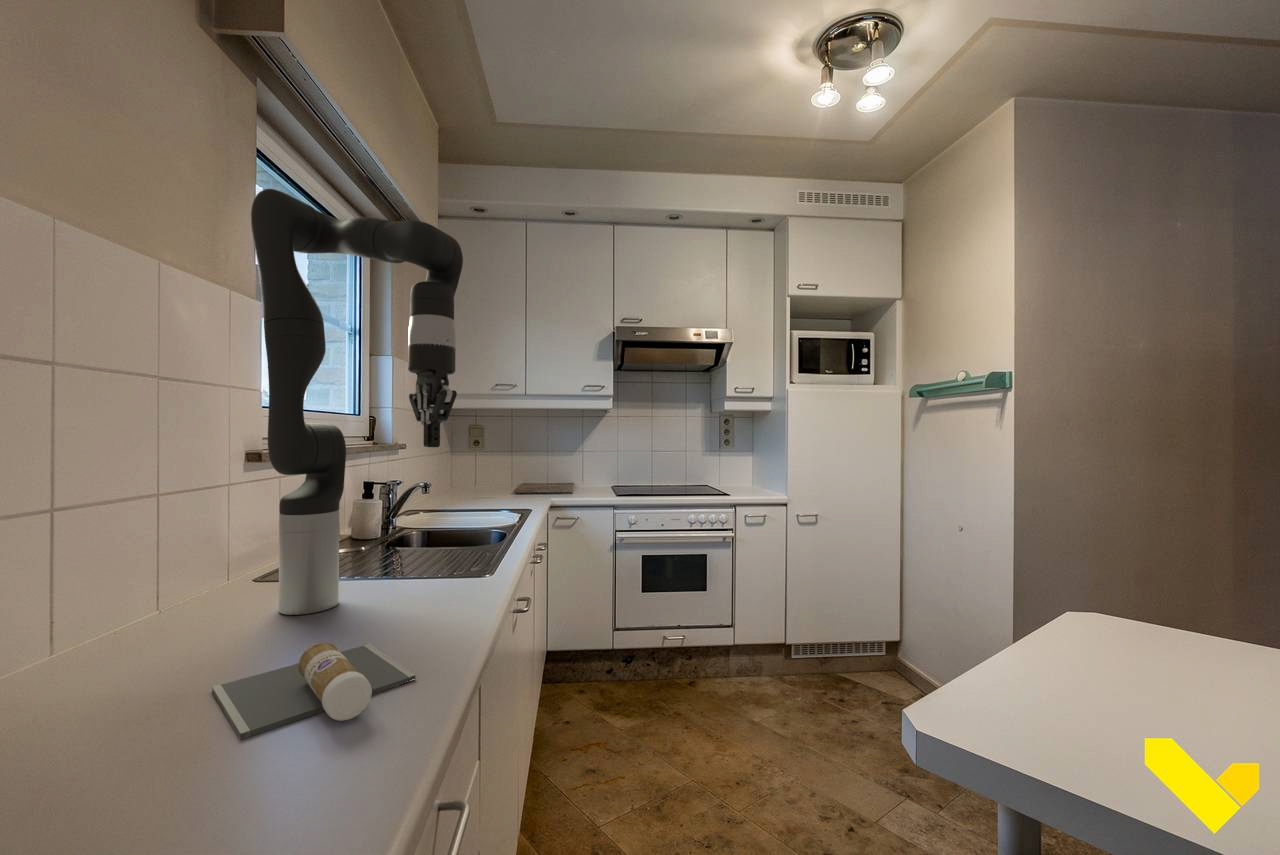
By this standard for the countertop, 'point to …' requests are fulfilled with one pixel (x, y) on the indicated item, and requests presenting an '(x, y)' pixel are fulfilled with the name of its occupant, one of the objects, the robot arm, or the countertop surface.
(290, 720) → the mat
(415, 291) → the robot arm
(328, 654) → the sprinkles bottle
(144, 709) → the countertop surface
